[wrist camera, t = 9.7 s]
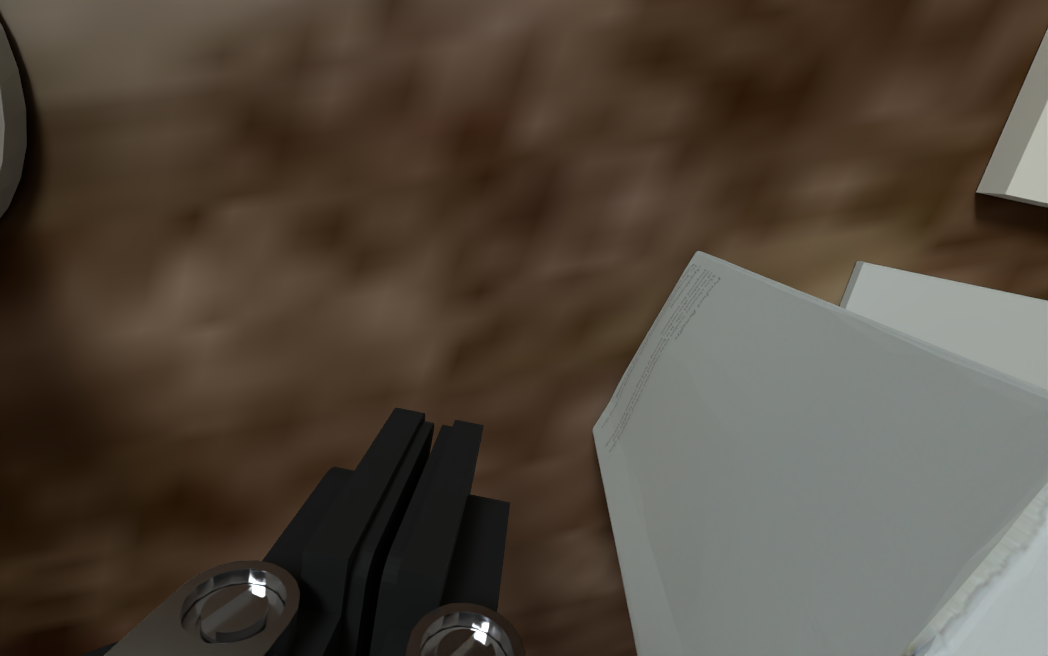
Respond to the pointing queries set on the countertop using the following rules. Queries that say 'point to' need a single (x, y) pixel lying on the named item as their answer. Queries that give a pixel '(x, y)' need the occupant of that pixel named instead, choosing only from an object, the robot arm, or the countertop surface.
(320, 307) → the countertop surface
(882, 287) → the mat
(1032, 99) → the board
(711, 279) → the skincare box
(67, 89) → the countertop surface
